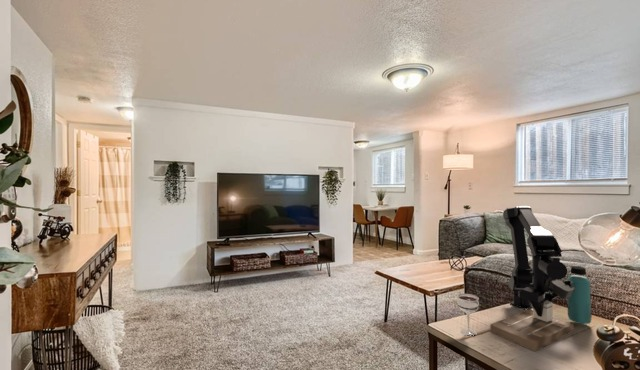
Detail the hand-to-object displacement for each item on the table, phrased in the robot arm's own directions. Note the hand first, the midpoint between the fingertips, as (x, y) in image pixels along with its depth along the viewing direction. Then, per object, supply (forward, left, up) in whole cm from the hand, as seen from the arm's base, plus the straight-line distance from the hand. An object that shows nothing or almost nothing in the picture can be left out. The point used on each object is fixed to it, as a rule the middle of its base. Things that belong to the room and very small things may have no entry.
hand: (542, 314), depth 109 cm
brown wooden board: (+7, 0, -4) cm, 8 cm away
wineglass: (+25, -10, -4) cm, 27 cm away
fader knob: (0, 0, -2) cm, 2 cm away
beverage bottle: (-12, +6, -4) cm, 14 cm away
